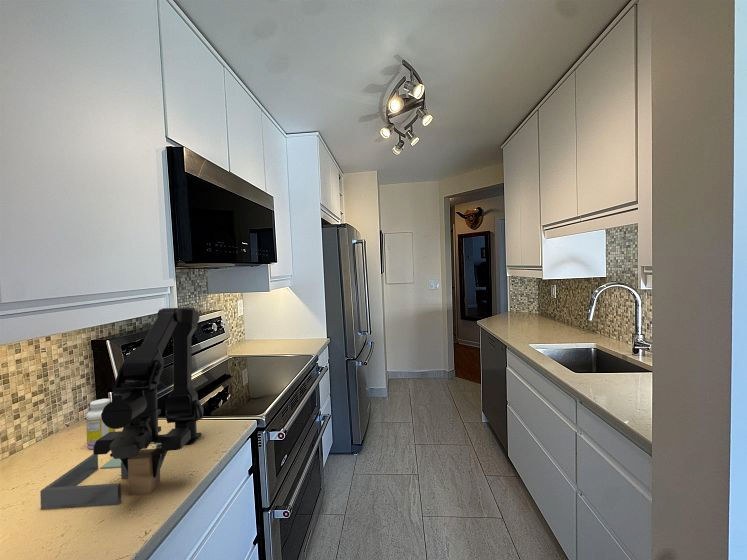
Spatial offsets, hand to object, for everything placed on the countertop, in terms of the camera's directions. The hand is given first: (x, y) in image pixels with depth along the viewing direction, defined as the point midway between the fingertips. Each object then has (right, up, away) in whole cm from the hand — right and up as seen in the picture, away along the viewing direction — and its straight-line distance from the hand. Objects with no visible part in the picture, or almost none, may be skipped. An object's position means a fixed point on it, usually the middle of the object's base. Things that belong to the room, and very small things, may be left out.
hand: (144, 477), depth 80 cm
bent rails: (-10, -3, +2) cm, 11 cm away
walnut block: (0, -3, 0) cm, 2 cm away
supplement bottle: (-27, -3, +22) cm, 35 cm away
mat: (-13, -3, +12) cm, 19 cm away
